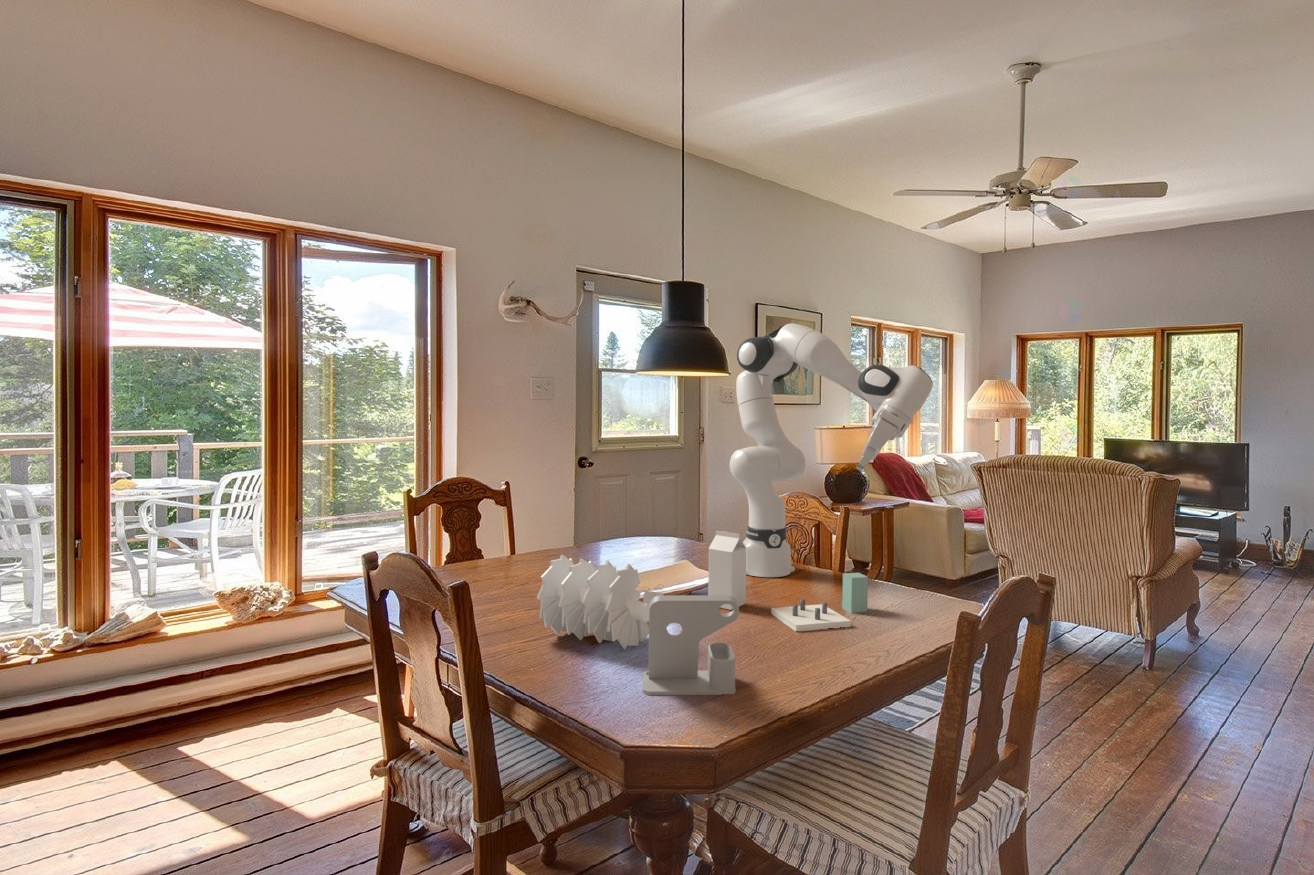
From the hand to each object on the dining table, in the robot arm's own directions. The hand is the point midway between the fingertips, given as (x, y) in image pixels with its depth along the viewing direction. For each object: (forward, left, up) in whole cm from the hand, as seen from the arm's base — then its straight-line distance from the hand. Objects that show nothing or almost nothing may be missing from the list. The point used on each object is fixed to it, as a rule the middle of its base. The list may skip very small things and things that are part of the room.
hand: (860, 466), depth 189 cm
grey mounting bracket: (+40, -59, -36) cm, 80 cm away
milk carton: (-7, -34, -36) cm, 50 cm away
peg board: (+10, -19, -36) cm, 42 cm away
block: (+5, -4, -36) cm, 37 cm away
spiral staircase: (+11, -71, -36) cm, 80 cm away
